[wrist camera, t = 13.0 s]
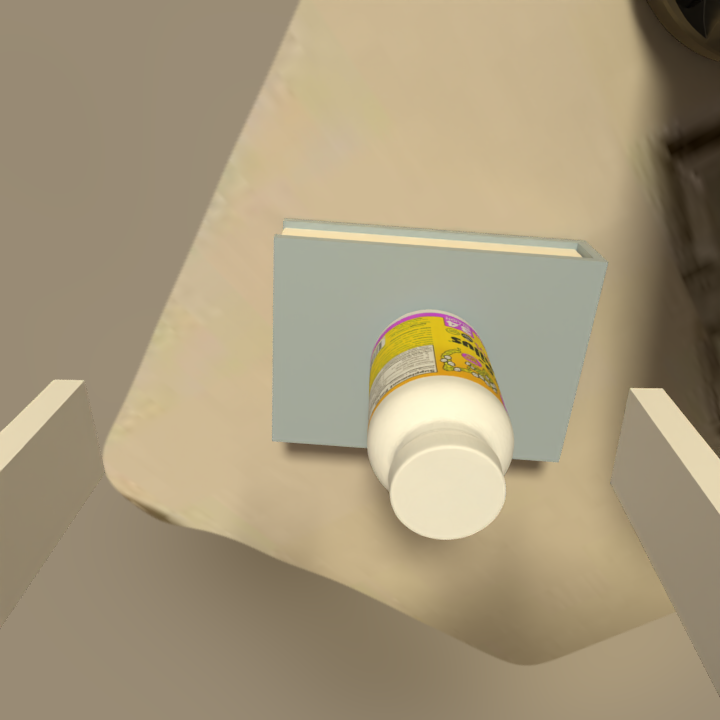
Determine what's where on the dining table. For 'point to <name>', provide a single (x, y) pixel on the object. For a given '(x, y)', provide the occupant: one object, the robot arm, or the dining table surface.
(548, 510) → the dining table surface
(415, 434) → the supplement bottle
